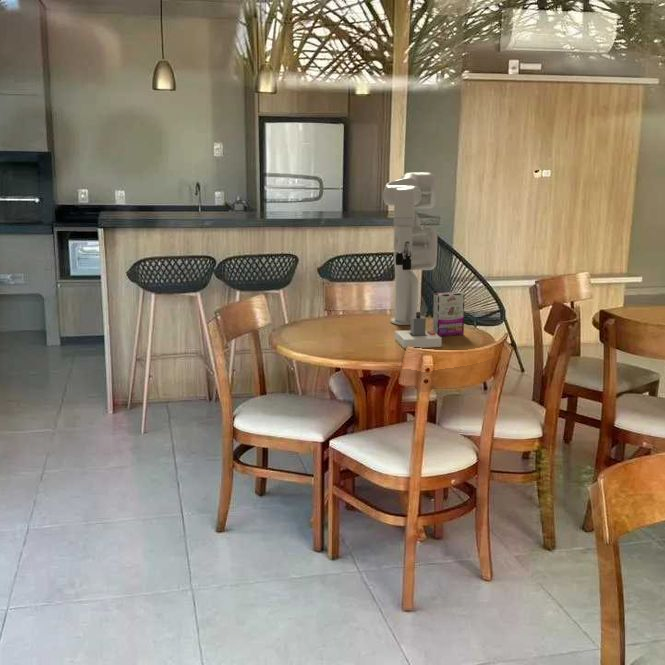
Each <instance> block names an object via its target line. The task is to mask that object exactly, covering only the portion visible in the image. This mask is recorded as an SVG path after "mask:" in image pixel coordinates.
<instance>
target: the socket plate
mask: <svg viewBox="0 0 665 665" xmlns="http://www.w3.org/2000/svg"><path fill="white" fill-rule="evenodd" d="M410 334H411V329H408V330H407V329H406V330H394V339H395V340H396V342H397V343H398V344H400V346H401V347H402V348H403V349H407V348H406V347H408V346H412V347H420V349H421V348H441V347H442V342H443V340H442V339H443V338H442V336H438V335H437V334H436V333H435V332H434V331H433V329H430V328H429V329H425V336H411V335H410Z"/></svg>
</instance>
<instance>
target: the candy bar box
mask: <svg viewBox="0 0 665 665" xmlns="http://www.w3.org/2000/svg"><path fill="white" fill-rule="evenodd" d="M432 310H433V312H432V313H433V314H432V315H433V319H432V320H433V322H432V326H433V327H432V330H433V331H434V332H435V333H436V334H437V335H438V336H440V337H449V336H451V337H452V336H462V335H464V333H465V332H464V328H465V325H464V324H465V293H464V292H462V291H447V292H445V291H444V292H435V293H433V309H432Z"/></svg>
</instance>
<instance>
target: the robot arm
mask: <svg viewBox="0 0 665 665" xmlns="http://www.w3.org/2000/svg"><path fill="white" fill-rule="evenodd" d="M382 200H383V203H384V204H385V205H386V206H389V207H391V206H392V207H393V206H394V207H393V226H394V233H393V250H394V251H393V256H392V258H393V265H394V279H395V280H394V317H392V318H390V322H391V324H394V325H399V326H411V317H414V316H416V312H419V311H418V310H419V308H418V307H419V279H418V277H417V275H416V274H415V272H413V271H432V270H433V269H435V267H436V265H437V261H438V260H437V259H438V231H437V230H436V229H435V227H432V226H422V225H421V219H420V217H419V215H418V214H417V213H416V212H415V209H432V208H434V207H435V206H436V203H437V200H438V199H437V181H436V178H435V176H434V174H432V173H431V172H406V173H404V174H403V175H402V176H401V177H400V179H397V180H392V181H389V182H387V183H386V185H385V186H384V189H383V194H382Z"/></svg>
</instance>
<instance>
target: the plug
mask: <svg viewBox="0 0 665 665" xmlns="http://www.w3.org/2000/svg"><path fill="white" fill-rule="evenodd" d="M426 321H427V318H426V317H425V316H423V315H421V311H418V312H416V316H414V317H411V325H410V330H411V334H410V335H411V336H425V330H426Z"/></svg>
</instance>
